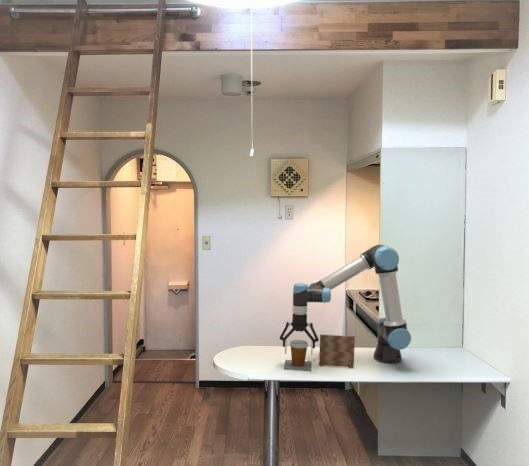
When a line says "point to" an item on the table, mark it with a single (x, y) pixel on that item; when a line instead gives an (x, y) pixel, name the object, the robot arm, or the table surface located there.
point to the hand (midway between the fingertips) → (298, 353)
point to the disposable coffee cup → (298, 352)
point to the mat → (289, 366)
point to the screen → (337, 350)
